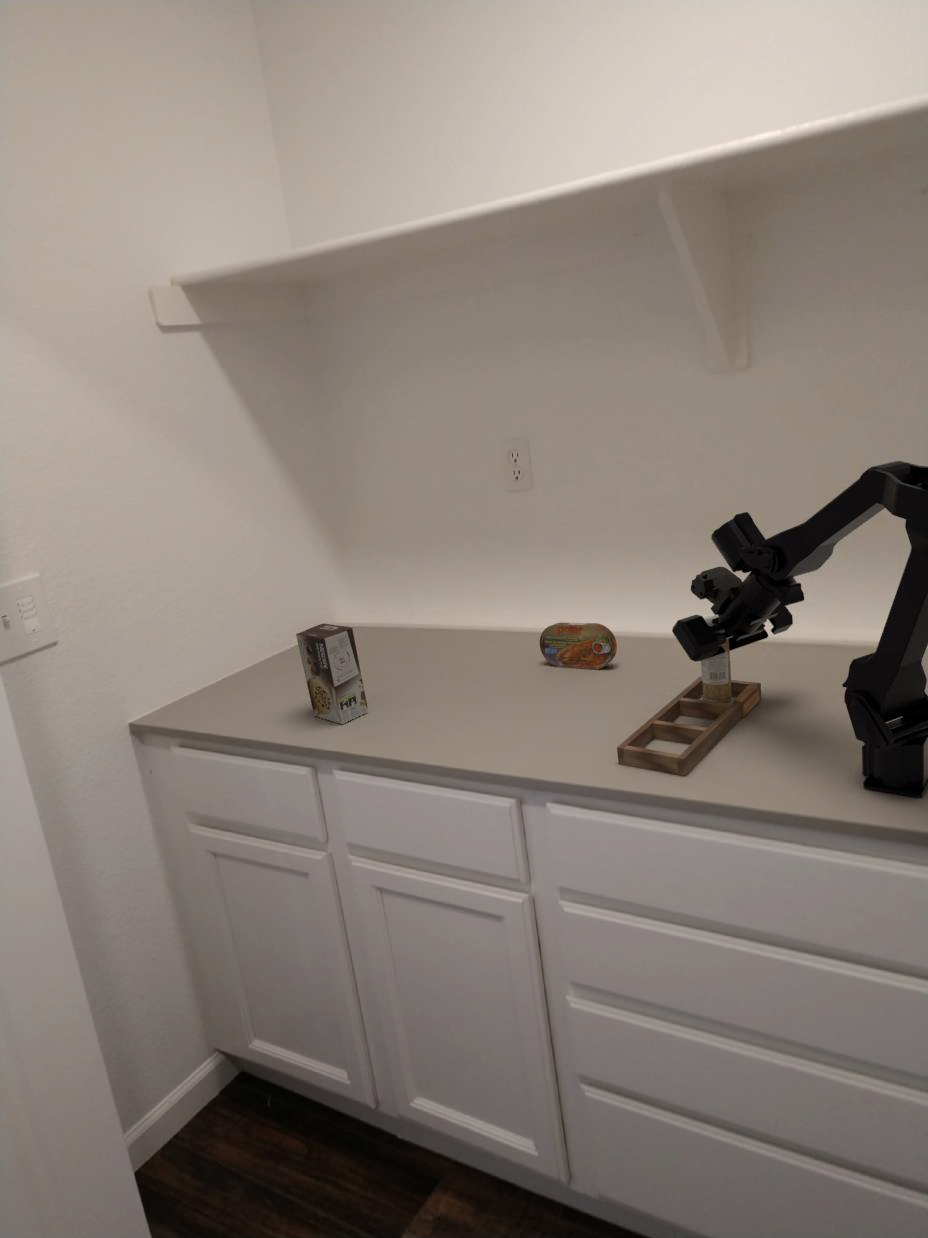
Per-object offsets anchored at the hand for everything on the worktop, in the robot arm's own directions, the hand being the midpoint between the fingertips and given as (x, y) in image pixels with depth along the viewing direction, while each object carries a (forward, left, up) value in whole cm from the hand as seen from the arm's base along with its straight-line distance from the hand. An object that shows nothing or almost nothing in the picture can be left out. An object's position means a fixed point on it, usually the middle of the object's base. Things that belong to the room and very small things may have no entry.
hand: (709, 654), depth 132 cm
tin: (+30, -10, -9) cm, 33 cm away
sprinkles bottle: (-1, +1, -7) cm, 8 cm away
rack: (-1, +9, -8) cm, 13 cm away
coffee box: (+60, +24, -8) cm, 65 cm away
